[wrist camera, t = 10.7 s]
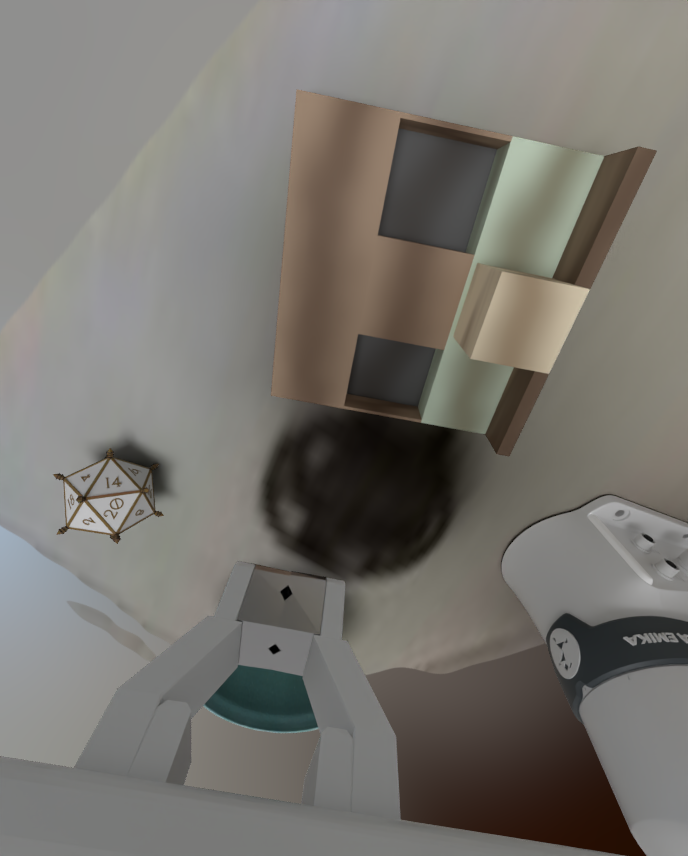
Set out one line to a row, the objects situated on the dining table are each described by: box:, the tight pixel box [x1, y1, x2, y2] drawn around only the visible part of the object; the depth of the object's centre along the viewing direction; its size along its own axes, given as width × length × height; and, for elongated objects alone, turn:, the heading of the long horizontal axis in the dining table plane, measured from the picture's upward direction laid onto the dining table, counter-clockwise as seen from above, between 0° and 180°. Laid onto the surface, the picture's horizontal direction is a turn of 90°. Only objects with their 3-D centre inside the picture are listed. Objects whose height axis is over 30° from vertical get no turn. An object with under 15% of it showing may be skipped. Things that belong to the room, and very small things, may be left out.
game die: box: [53, 449, 164, 544], centre depth 35 cm, size 9×8×10 cm
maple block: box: [453, 263, 590, 374], centre depth 23 cm, size 5×5×5 cm
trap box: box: [271, 90, 657, 456], centre depth 25 cm, size 19×19×6 cm
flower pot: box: [203, 665, 319, 733], centre depth 43 cm, size 16×16×11 cm
